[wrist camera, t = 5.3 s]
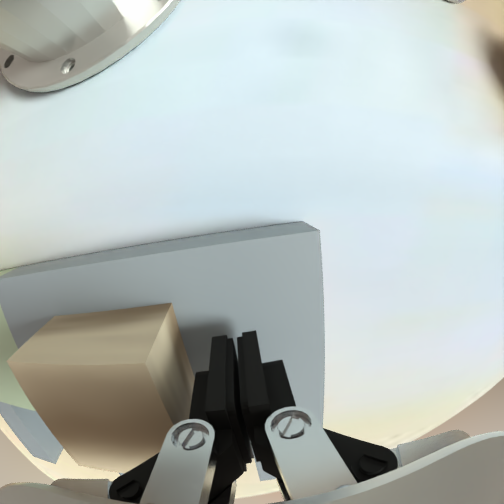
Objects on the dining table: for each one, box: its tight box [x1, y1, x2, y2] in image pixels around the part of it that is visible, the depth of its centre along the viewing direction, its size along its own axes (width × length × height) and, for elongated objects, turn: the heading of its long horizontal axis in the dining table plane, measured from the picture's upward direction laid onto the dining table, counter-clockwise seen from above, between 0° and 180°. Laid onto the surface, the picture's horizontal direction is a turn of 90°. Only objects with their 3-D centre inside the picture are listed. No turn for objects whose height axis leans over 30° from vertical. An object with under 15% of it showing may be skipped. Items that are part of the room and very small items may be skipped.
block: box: [7, 303, 195, 473], centre depth 9 cm, size 6×6×4 cm
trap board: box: [0, 222, 325, 481], centre depth 13 cm, size 16×24×2 cm, turn 97°
